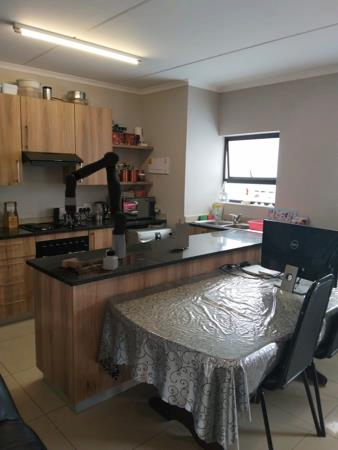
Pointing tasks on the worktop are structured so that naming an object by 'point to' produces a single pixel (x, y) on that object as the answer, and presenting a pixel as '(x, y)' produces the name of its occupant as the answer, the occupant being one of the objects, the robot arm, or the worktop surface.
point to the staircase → (181, 235)
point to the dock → (88, 268)
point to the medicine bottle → (110, 260)
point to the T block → (71, 263)
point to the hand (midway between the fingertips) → (70, 229)
